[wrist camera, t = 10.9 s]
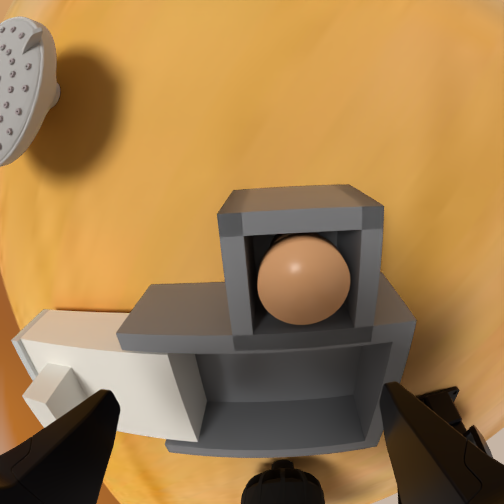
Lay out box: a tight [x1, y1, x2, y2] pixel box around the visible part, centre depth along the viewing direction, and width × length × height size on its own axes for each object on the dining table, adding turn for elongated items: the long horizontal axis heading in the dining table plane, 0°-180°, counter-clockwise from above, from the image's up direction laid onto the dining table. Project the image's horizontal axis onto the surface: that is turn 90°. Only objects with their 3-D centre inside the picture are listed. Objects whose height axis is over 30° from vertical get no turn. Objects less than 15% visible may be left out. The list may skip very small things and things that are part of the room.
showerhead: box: [0, 17, 60, 167], centre depth 12 cm, size 9×7×10 cm
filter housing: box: [116, 185, 417, 458], centre depth 18 cm, size 18×16×6 cm
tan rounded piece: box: [258, 232, 350, 325], centre depth 15 cm, size 4×4×4 cm
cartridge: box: [12, 309, 207, 442], centre depth 18 cm, size 9×13×8 cm
